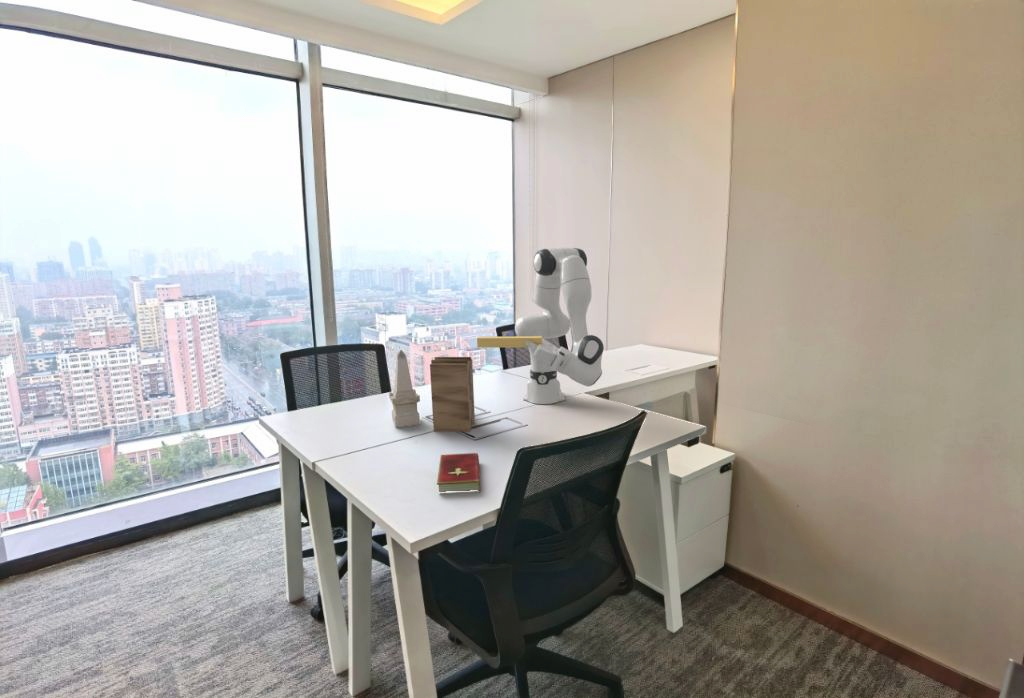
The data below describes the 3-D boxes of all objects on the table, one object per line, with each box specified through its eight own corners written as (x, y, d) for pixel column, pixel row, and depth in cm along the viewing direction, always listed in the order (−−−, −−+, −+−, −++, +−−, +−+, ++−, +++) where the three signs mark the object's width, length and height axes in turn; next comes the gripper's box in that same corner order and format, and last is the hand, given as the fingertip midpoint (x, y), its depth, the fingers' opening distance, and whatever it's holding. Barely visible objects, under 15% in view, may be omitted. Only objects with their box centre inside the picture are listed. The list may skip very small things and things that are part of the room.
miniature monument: (421, 424, 207) (416, 350, 201) (394, 428, 203) (389, 353, 198) (416, 417, 216) (412, 346, 211) (391, 420, 213) (385, 348, 207)
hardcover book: (478, 464, 168) (478, 451, 168) (480, 493, 148) (479, 479, 147) (441, 466, 167) (440, 453, 167) (437, 496, 147) (436, 482, 146)
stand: (440, 422, 209) (436, 355, 204) (474, 423, 207) (472, 355, 202) (433, 430, 199) (429, 361, 194) (469, 431, 197) (466, 361, 192)
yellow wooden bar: (479, 345, 198) (478, 336, 197) (542, 345, 194) (542, 336, 194) (477, 347, 194) (477, 338, 193) (541, 347, 191) (541, 337, 190)
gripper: (564, 346, 202) (533, 328, 202) (562, 357, 182) (527, 337, 182) (556, 360, 203) (525, 342, 204) (553, 372, 183) (519, 353, 184)
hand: (526, 340), depth 193 cm, fingers closed on yellow wooden bar, 3 cm apart
